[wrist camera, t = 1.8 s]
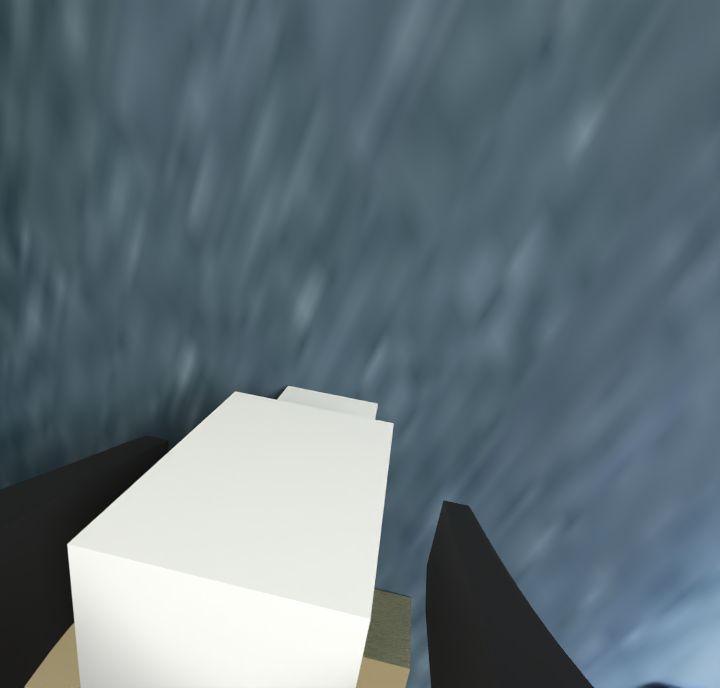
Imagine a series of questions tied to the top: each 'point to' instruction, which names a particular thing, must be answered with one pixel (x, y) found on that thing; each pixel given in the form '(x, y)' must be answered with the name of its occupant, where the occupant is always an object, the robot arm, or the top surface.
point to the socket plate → (376, 675)
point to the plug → (239, 552)
